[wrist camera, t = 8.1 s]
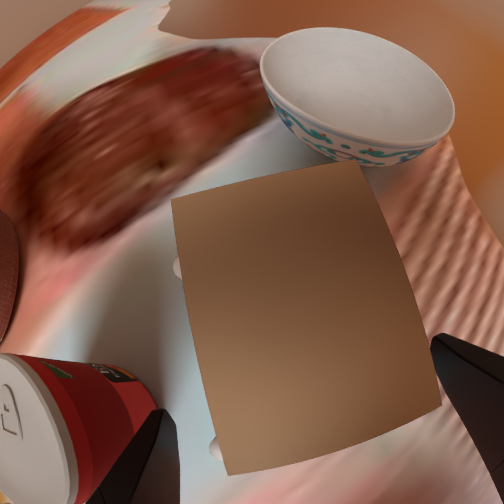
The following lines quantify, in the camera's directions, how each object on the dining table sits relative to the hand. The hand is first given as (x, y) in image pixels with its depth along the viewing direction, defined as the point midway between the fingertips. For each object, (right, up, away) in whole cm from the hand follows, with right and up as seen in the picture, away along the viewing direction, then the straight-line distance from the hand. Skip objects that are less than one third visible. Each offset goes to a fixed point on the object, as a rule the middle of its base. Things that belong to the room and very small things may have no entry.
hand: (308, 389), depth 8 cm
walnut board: (0, -1, +8) cm, 9 cm away
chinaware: (+7, +15, +16) cm, 23 cm away
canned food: (-11, -8, +9) cm, 16 cm away
